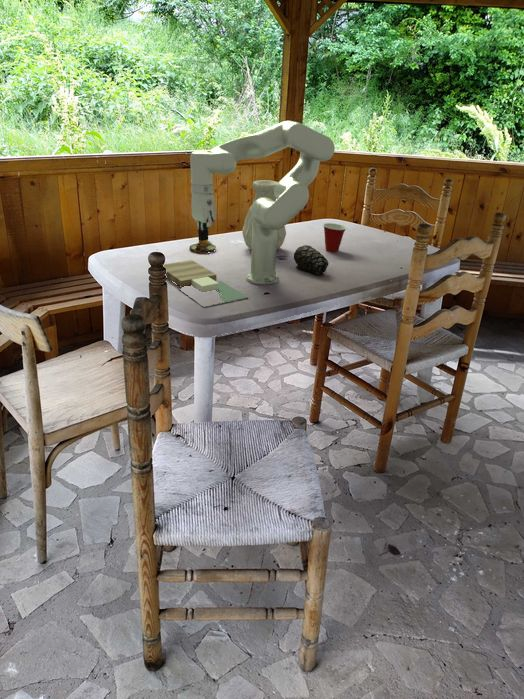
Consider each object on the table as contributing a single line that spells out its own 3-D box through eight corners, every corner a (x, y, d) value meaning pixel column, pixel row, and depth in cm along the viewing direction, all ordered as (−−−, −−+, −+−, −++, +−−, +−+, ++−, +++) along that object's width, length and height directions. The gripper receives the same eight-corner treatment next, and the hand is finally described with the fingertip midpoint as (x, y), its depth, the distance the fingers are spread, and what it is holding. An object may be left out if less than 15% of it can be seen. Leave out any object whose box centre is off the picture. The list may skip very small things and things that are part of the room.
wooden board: (216, 282, 213) (216, 274, 212) (181, 288, 205) (181, 281, 204) (192, 267, 228) (191, 260, 226) (158, 272, 220) (158, 265, 219)
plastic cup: (348, 253, 254) (351, 227, 248) (327, 255, 250) (330, 229, 245) (337, 246, 263) (339, 221, 257) (316, 248, 259) (319, 222, 254)
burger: (216, 247, 255) (216, 231, 252) (215, 254, 245) (215, 238, 241) (190, 246, 254) (190, 230, 251) (188, 253, 244) (188, 237, 241)
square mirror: (247, 298, 199) (247, 297, 199) (204, 307, 190) (204, 306, 190) (221, 282, 213) (221, 281, 213) (179, 290, 204) (179, 288, 204)
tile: (218, 289, 205) (218, 283, 204) (202, 292, 201) (202, 286, 200) (207, 282, 211) (207, 276, 209) (191, 285, 207) (191, 279, 206)
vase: (232, 247, 254) (233, 180, 240) (265, 241, 266) (268, 176, 253) (261, 259, 241) (264, 188, 227) (294, 251, 253) (298, 184, 240)
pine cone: (319, 279, 221) (321, 255, 217) (288, 267, 233) (289, 244, 228) (336, 274, 228) (339, 250, 223) (305, 263, 239) (306, 240, 234)
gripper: (222, 191, 190) (223, 243, 198) (200, 183, 200) (202, 233, 209) (203, 193, 186) (204, 246, 194) (182, 185, 196) (184, 236, 205)
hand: (203, 239), depth 201 cm, fingers closed
